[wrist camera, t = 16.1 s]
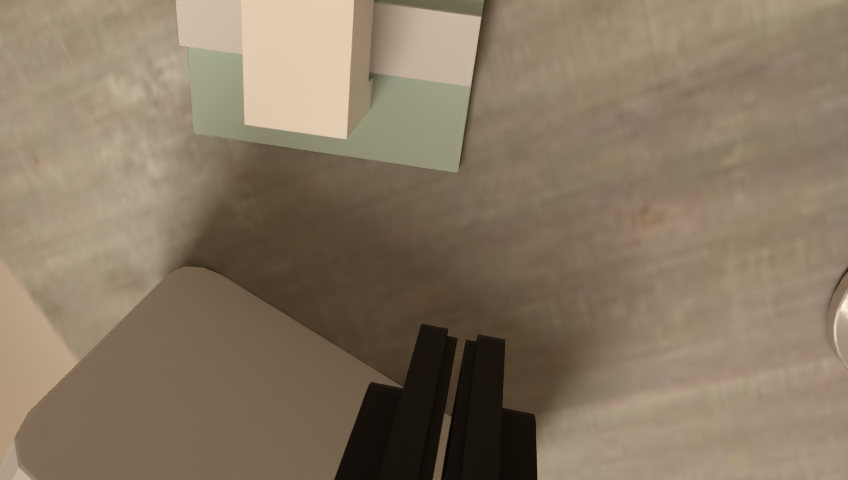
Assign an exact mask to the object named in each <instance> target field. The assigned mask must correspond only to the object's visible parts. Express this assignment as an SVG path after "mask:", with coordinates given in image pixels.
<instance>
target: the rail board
mask: <svg viewBox="0 0 848 480" xmlns="http://www.w3.org/2000/svg"><path fill="white" fill-rule="evenodd" d="M483 4H484V0H374V8H373V23H372V37H371V52H370V66H369V77H371V78H373V84H372V98H371V109H370V110H369V112H368V113H367V114H366V115H365V117H364V118H363V119H362V121H361V122H360V123H359V124H358V126H357V127H356V128H355V129H354V131H353V132H352V133H351V134H350V136H349V137H348V138H347V139H340V138H334V137H327V136H320V135H313V134H306V133H299V132H292V131H285V130H278V129H271V128H264V127H257V126H250V125H245V124H244V87H243V51H242V14H241V0H176V8H177V22H178V36H179V45H180V46H187V47H188V54H189V69H190V84H191V100H192V115H193V131H194V134H200V135H207V136H213V137H220V138H227V139H234V140H240V141H247V142H254V143H260V144H267V145H274V146H281V147H287V148H294V149H301V150H307V151H314V152H321V153H328V154H334V155H341V156H348V157H354V158H361V159H368V160H375V161H381V162H388V163H395V164H401V165H408V166H415V167H422V168H428V169H435V170H442V171H448V172H455V173H458V169H459V163H460V156H461V150H462V143H463V136H464V130H465V123H466V117H467V110H468V103H469V97H470V90H471V84H472V77H473V70H474V64H475V57H476V51H477V44H478V37H479V31H480V24H481V18H482V11H483Z"/></svg>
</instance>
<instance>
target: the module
mask: <svg viewBox="0 0 848 480" xmlns="http://www.w3.org/2000/svg"><path fill="white" fill-rule="evenodd" d="M373 8H374V0H241V14H242V51H243V87H244V124H245V125H250V126H257V127H264V128H271V129H278V130H285V131H292V132H299V133H306V134H313V135H320V136H327V137H334V138H340V139H347V138H348V137H349V136H350V134H351V133H352V132H353V131H354V129H355V128H356V127H357V126H358V124H359V123H360V122H361V121H362V119H363V118H364V117H365V115H366V114H367V113H368V112H369V110H370V109H371V98H372V84H373V78H371V77H369V66H370V52H371V37H372V23H373Z"/></svg>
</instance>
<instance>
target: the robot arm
mask: <svg viewBox="0 0 848 480" xmlns="http://www.w3.org/2000/svg"><path fill="white" fill-rule="evenodd" d="M827 330H828V335H829V341H830V343H831V345H832V347H833V349H834V351H835V353H836V355H837V356H838V357H839V359H840V360H841V361H842V362H843V364H844V365H845V366H846V368H847V369H848V272H847V273H846V274H845V276H844V277H843V278H842V280H841V282H840V284H839V285H838V287H837V289H836V291H835V292H834V294H833V297H832V300H831V303H830V306H829V309H828V319H827ZM447 333H448V329H446V328H441V327H436V326H431V325H425V324H421V327H420V330H419V334H418V338H417V341H416V345H415V348H414V352H413V356H412V359H411V363H410V366H409V370H408V373H407V377H406V381H405V384H404V388H400V387H395V386H390V385H385V384H380V383H375V382H370V384H369V386H368V388H367V390H366V393H365V396H364V399H363V401H362V404H361V407H360V410H359V412H358V415H357V418H356V421H355V423H354V426H353V429H352V432H351V434H350V437H349V440H348V443H347V445H346V448H345V451H344V454H343V456H342V459H341V462H340V465H339V467H338V470H337V473H336V476H335V478H334V480H433V476H434V470H435V464H436V459H437V453H438V447H439V441H440V436H441V430H442V424H443V418H444V412H445V407H446V401H447V395H448V389H449V384H450V378H451V372H452V366H453V361H454V355H455V349H456V343H457V338H455V337H449V336H447ZM504 357H505V339H499V338H494V337H489V336H483V335H478V336H477V340H476V341H470V340H466V342H465V347H464V353H463V358H462V364H461V369H460V374H459V380H458V385H457V390H456V396H455V401H454V406H453V412H452V417H451V422H450V428H449V433H448V438H447V444H446V450H445V456H444V462H443V468H442V474H441V480H537V451H536V421H535V415H534V414H530V413H525V412H520V411H515V410H510V409H505V408H502V400H503V378H504Z"/></svg>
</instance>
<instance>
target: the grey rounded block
mask: <svg viewBox="0 0 848 480" xmlns="http://www.w3.org/2000/svg"><path fill="white" fill-rule="evenodd" d="M370 382H375V383H380V384H385V385H390V386H395V387H400V388H404V387H402V386H401V385H399V384H397V383H396V382H394V381H393V380H391V379H389V378H388V377H386V376H384V375H383V374H381V373H380V372H378V371H376V370H375V369H373V368H372V367H370V366H368V365H367V364H365V363H363V362H362V361H360V360H359V359H357V358H355V357H354V356H352V355H351V354H349V353H347V352H346V351H344V350H342V349H341V348H339V347H338V346H336V345H334V344H333V343H331V342H330V341H328V340H326V339H325V338H323V337H321V336H320V335H318V334H317V333H315V332H313V331H312V330H310V329H309V328H307V327H305V326H304V325H302V324H300V323H299V322H297V321H296V320H294V319H292V318H291V317H289V316H288V315H286V314H284V313H283V312H281V311H279V310H278V309H276V308H275V307H273V306H271V305H270V304H268V303H267V302H265V301H263V300H262V299H260V298H258V297H257V296H255V295H254V294H252V293H250V292H249V291H247V290H246V289H244V288H242V287H241V286H239V285H237V284H236V283H234V282H233V281H231V280H229V279H228V278H226V277H225V276H223V275H221V274H218V273H216V272H214V271H211V270H209V269H206V268H204V267H182V268H180V269H178V270H175V271H173V272H171V273H169V274H168V275H167V276H166V277H165V278H164V279H163V280H162V281H161V282H160V283H159V284H158V285H157V286H156V287H155V288H154V289H153V290H152V291H151V292H150V293H149V294H148V295H147V296H146V297H145V298H144V299H143V300H142V301H141V302H140V303H139V304H138V305H137V306H136V307H135V308H134V309H133V310H132V311H130V312H129V313H128V314H127V315H126V316H125V317H124V318H123V319H122V320H121V321H120V322H119V323H118V324H117V325H116V326H115V327H114V328H113V329H112V330H111V331H110V332H109V333H108V334H107V335H106V336H105V337H104V338H103V339H102V340H101V341H100V342H99V343H98V344H97V345H96V346H95V347H94V348H93V349H92V350H91V351H90V352H89V353H88V354H87V355H86V356H85V357H84V358H83V359H82V360H81V361H80V362H79V363H78V364H77V365H76V366H75V367H74V368H73V369H72V370H71V371H70V372H69V373H68V374H67V375H66V376H65V377H64V378H63V379H62V380H61V381H60V382H59V383H58V384H57V385H56V386H55V387H54V388H53V389H52V390H51V391H50V392H49V393H48V394H47V395H46V396H45V397H44V398H43V399H42V400H41V401H40V402H39V403H38V404H37V405H36V406H34V407H33V409H31V410H30V411H29V412H28V414H27V416H26V418H25V420H24V421H23V423H22V425H21V427H20V428H19V430H18V432H17V434H16V436H15V438H14V440H13V442H12V444H11V446H10V448H9V450H8V452H7V454H6V456H5V458H4V460H3V462H2V465H1V466H0V480H334V478H335V476H336V473H337V470H338V467H339V465H340V462H341V459H342V456H343V454H344V451H345V448H346V445H347V443H348V440H349V437H350V434H351V432H352V429H353V426H354V423H355V421H356V418H357V415H358V412H359V410H360V407H361V404H362V401H363V399H364V396H365V393H366V390H367V388H368V386H369V384H370ZM450 422H451V416H449V415H447V414H446V413H444V418H443V424H442V430H441V436H440V441H439V447H438V453H437V459H436V464H435V470H434V476H433V480H441V474H442V468H443V462H444V456H445V450H446V444H447V438H448V433H449V428H450Z"/></svg>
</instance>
